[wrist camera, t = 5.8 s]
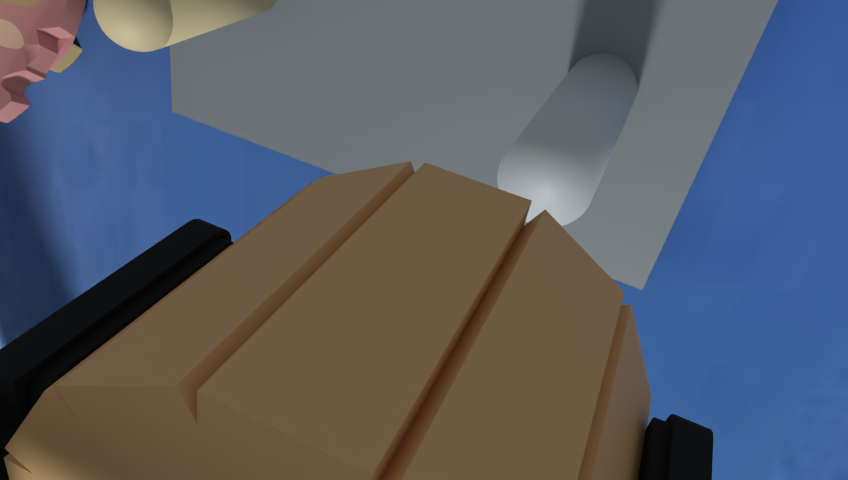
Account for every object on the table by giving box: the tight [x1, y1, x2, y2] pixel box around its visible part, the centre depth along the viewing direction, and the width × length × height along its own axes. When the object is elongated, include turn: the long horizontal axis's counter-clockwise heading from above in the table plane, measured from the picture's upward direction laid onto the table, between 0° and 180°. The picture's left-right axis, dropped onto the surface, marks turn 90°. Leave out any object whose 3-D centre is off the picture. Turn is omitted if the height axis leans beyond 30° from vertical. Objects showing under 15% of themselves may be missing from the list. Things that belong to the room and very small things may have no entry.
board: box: [93, 0, 778, 290], centre depth 22 cm, size 14×22×9 cm, turn 80°
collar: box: [4, 161, 651, 480], centre depth 9 cm, size 7×7×5 cm
